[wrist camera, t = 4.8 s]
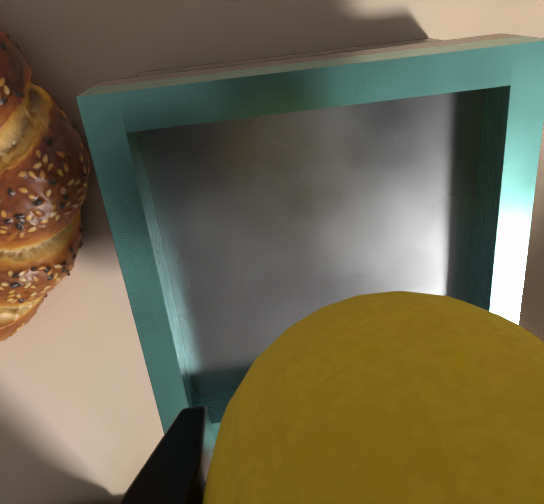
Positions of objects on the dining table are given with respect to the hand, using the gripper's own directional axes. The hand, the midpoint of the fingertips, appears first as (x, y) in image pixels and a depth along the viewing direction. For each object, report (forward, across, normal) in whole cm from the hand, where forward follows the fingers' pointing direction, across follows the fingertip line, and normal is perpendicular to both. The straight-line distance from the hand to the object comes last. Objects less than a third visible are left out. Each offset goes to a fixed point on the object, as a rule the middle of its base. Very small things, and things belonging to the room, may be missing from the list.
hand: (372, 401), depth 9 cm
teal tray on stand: (+10, 0, 0) cm, 10 cm away
